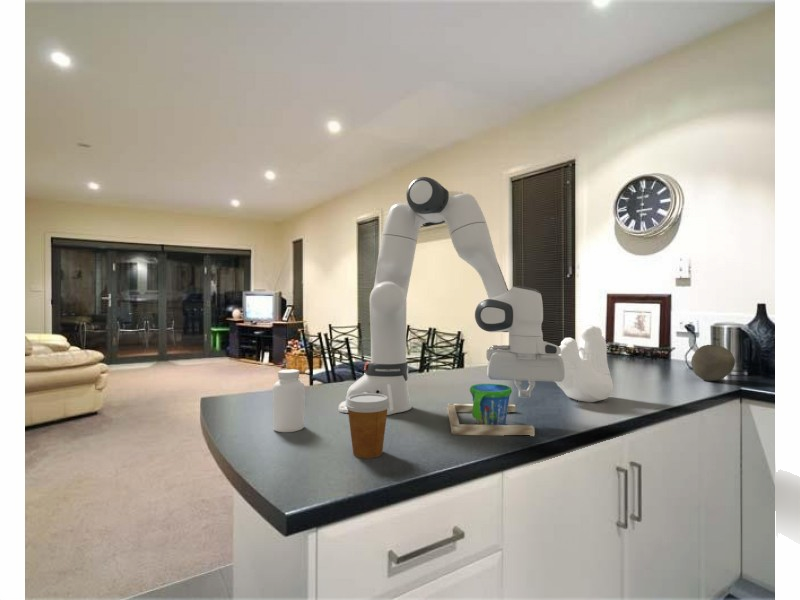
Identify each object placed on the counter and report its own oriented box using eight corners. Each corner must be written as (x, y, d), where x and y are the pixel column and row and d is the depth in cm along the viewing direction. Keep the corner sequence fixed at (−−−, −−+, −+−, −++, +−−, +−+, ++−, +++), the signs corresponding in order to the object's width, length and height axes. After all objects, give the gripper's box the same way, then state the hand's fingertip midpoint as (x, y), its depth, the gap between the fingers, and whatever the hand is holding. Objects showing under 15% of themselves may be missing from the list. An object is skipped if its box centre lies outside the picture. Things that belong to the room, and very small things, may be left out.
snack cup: (491, 436, 103) (490, 394, 103) (456, 427, 111) (456, 388, 111) (524, 423, 114) (523, 385, 114) (490, 416, 122) (490, 380, 122)
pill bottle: (276, 434, 105) (276, 374, 105) (270, 426, 112) (270, 369, 112) (308, 430, 109) (308, 371, 109) (300, 422, 116) (300, 367, 116)
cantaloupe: (702, 383, 170) (702, 346, 170) (685, 377, 184) (685, 343, 184) (742, 384, 168) (742, 346, 168) (721, 378, 181) (721, 343, 182)
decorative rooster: (589, 392, 153) (588, 324, 154) (625, 402, 139) (624, 326, 139) (530, 398, 145) (530, 325, 146) (562, 408, 130) (562, 327, 131)
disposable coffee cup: (346, 446, 96) (346, 393, 96) (388, 445, 97) (388, 392, 97) (344, 462, 87) (344, 403, 87) (391, 460, 88) (391, 402, 88)
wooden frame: (452, 434, 105) (452, 426, 105) (447, 410, 129) (447, 403, 129) (534, 436, 103) (534, 427, 103) (514, 411, 127) (514, 404, 127)
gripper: (488, 346, 113) (487, 398, 113) (567, 348, 111) (566, 400, 111) (485, 343, 119) (484, 393, 119) (559, 345, 118) (559, 395, 118)
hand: (524, 396), depth 115 cm, fingers closed
